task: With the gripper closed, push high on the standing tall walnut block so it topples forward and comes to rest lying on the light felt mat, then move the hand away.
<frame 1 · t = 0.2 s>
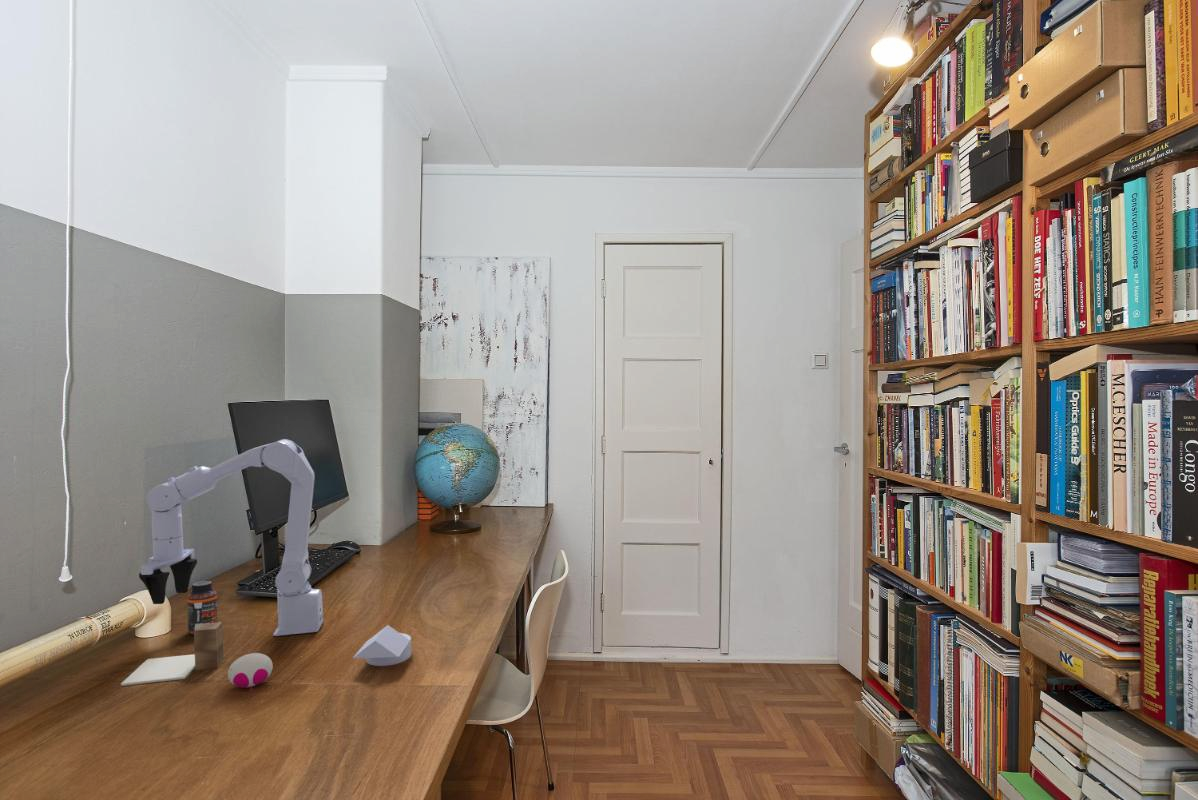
hand: (170, 597, 150), 10 cm above the table, fingers open, 7 cm apart
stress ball: (251, 687, 127), on the table
wedge on round base: (385, 662, 137), on the table
supplement bottle: (203, 632, 157), on the table
walnut block: (209, 665, 137), on the table
felt mat: (165, 669, 135), on the table
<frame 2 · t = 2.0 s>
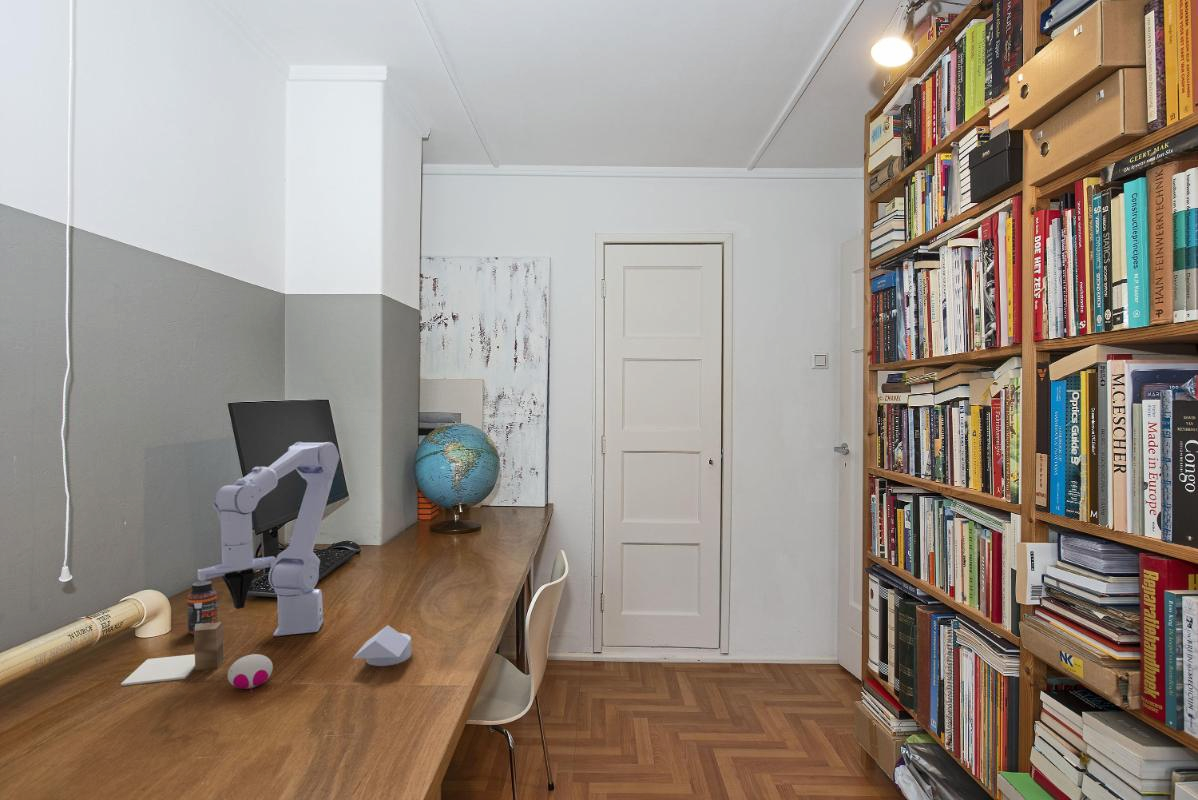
hand: (239, 607, 141), 10 cm above the table, fingers closed
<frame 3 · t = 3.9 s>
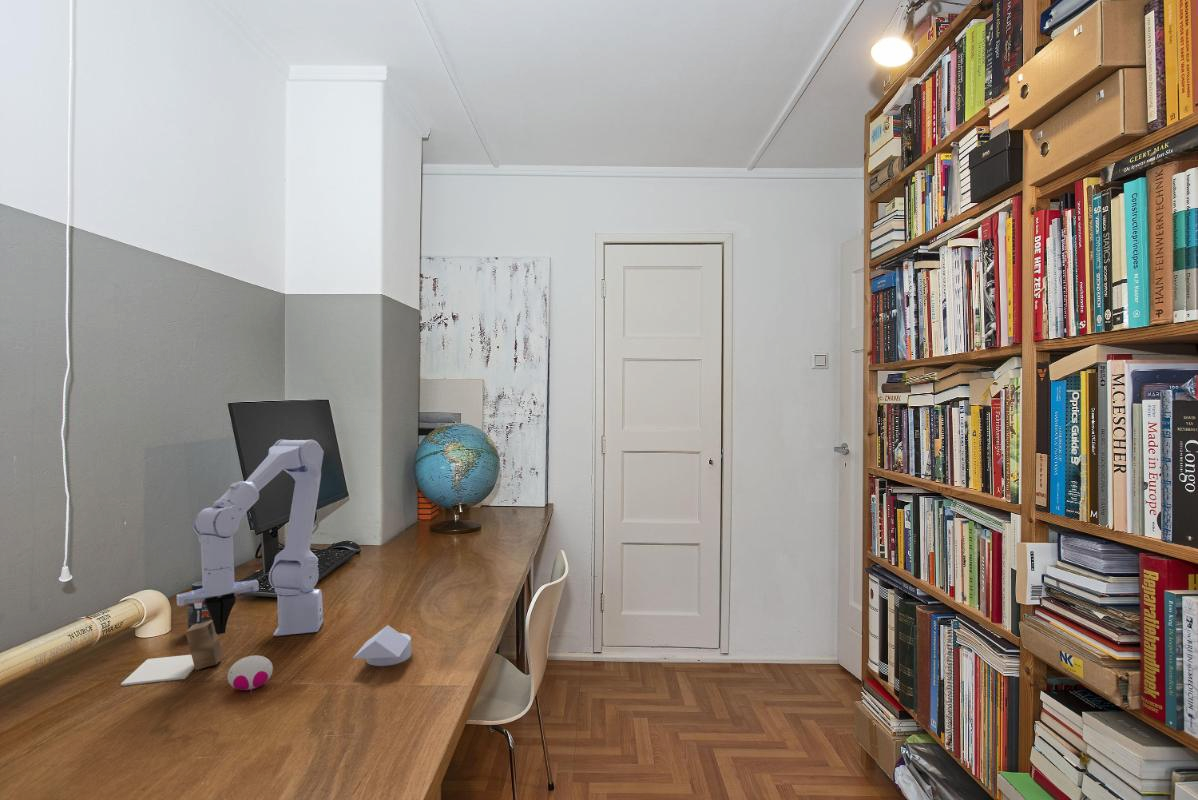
hand: (220, 632, 138), 6 cm above the table, fingers closed
walnut block: (209, 663, 137), on the table, tilted 11°
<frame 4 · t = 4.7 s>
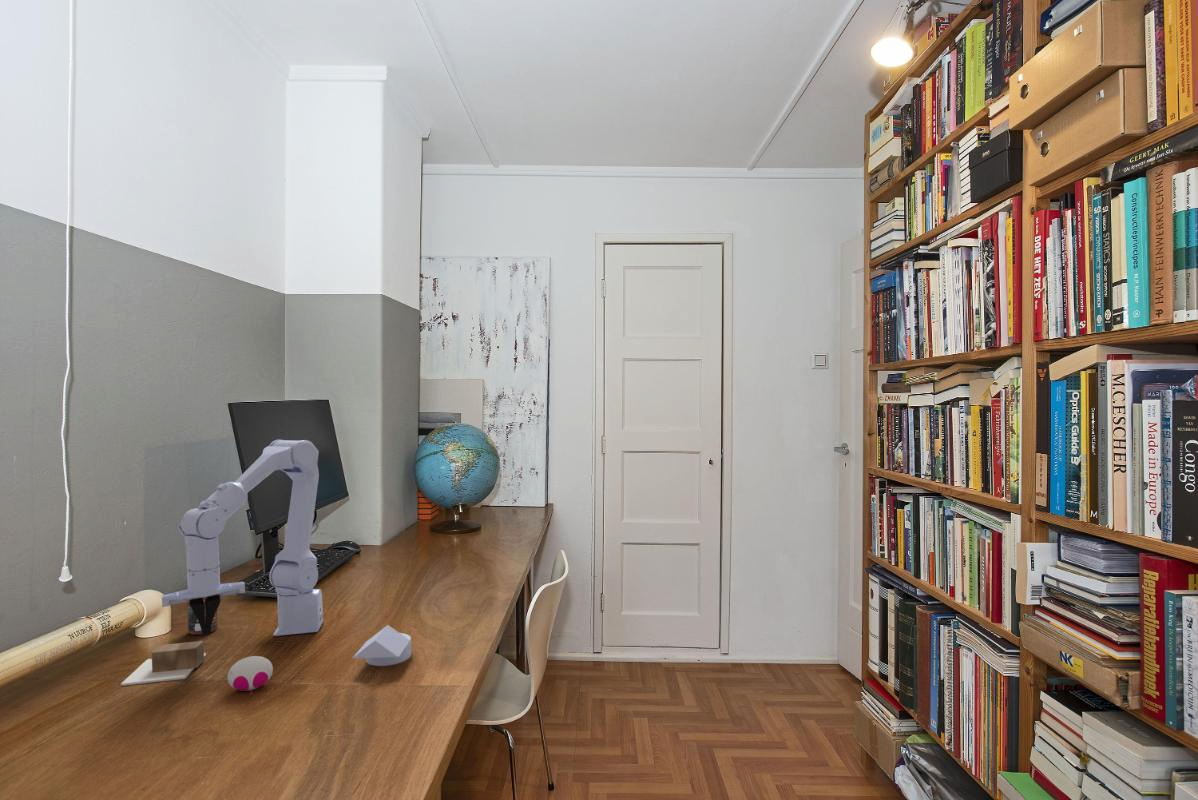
hand: (205, 634, 137), 6 cm above the table, fingers closed
walnut block: (200, 654, 137), point 2 cm above the table, tilted 90°, touching felt mat
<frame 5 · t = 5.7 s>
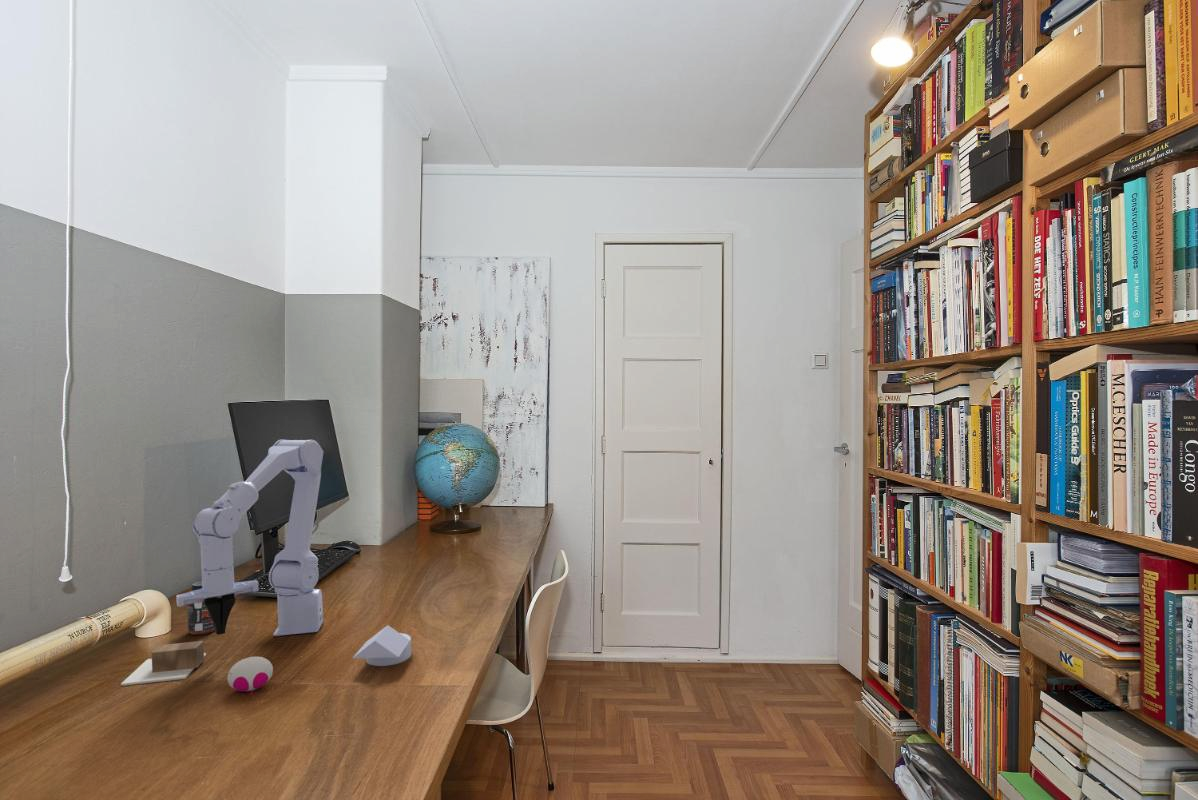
hand: (220, 632, 138), 6 cm above the table, fingers closed
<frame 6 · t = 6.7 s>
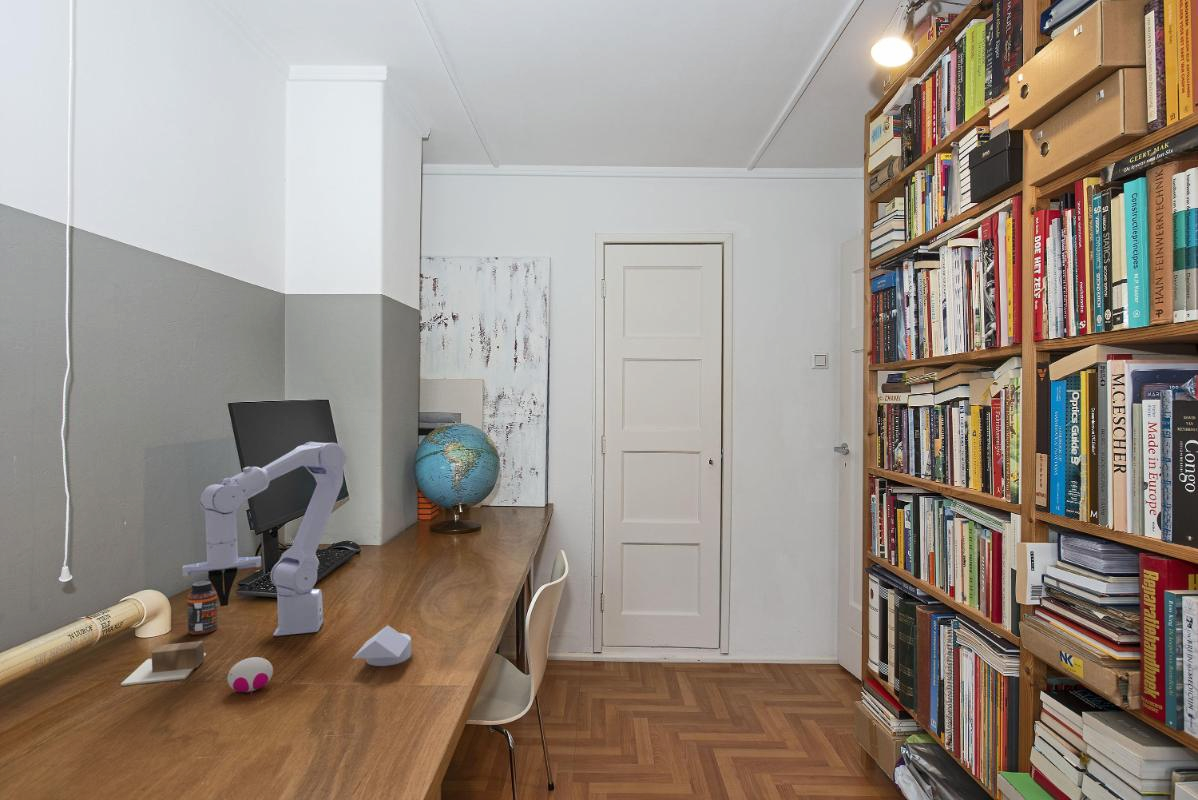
hand: (224, 604, 143), 10 cm above the table, fingers closed
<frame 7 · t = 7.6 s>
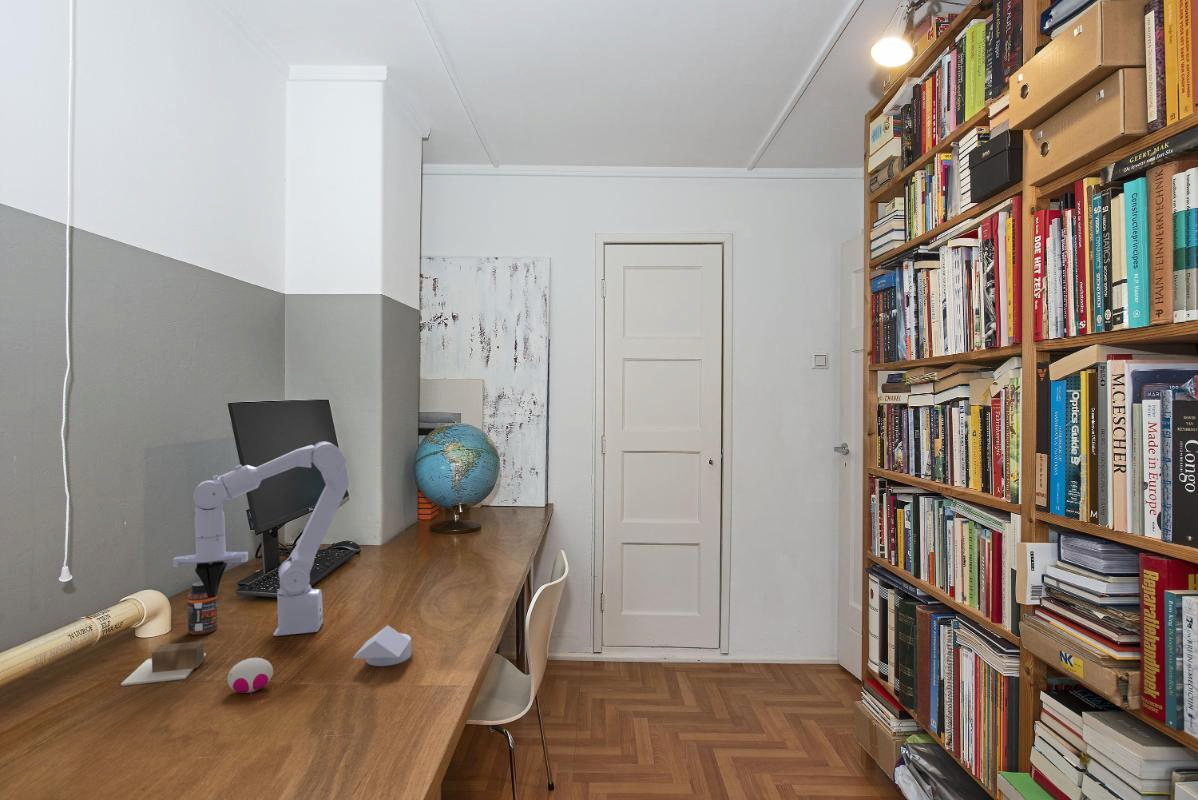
hand: (212, 596, 149), 10 cm above the table, fingers closed
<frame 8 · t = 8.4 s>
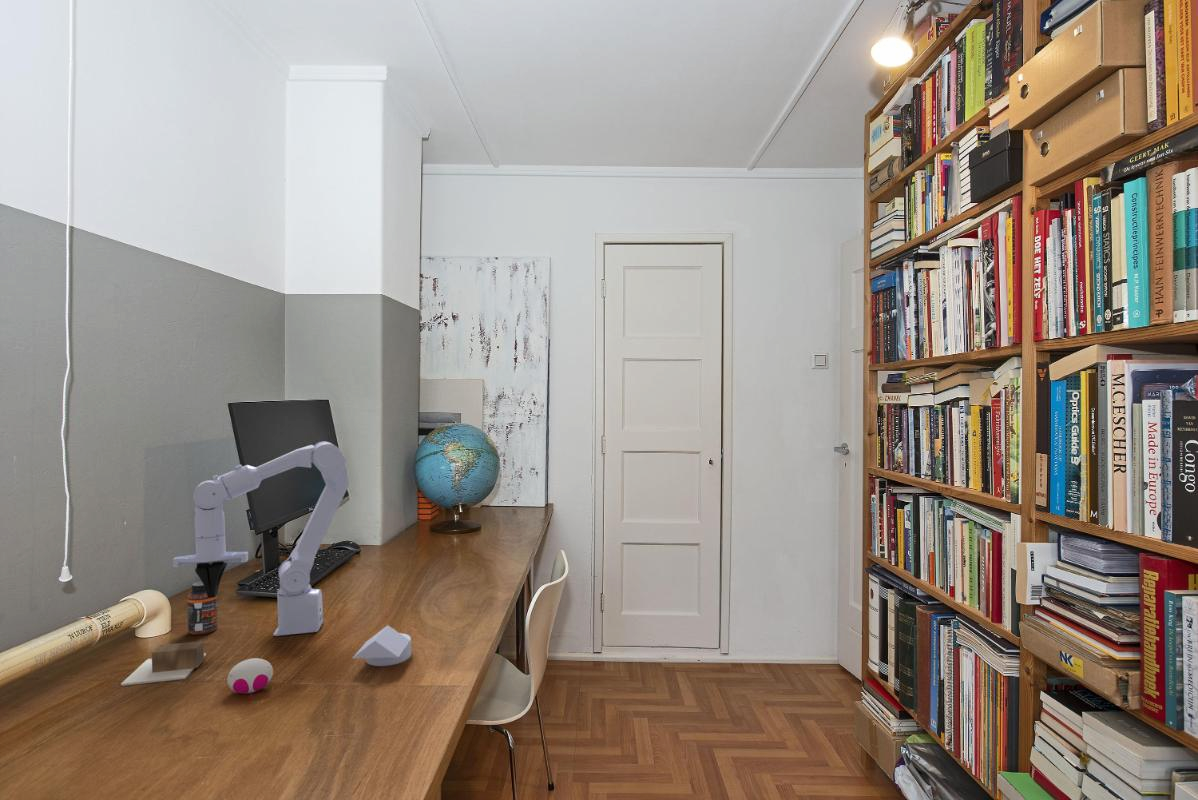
hand: (212, 596, 149), 10 cm above the table, fingers closed
at the end: walnut block tilted 90°; walnut block inside the target area (6.3 cm from its centre), point 2.4 cm above the table; supplement bottle moved 0.2 cm from its start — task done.
